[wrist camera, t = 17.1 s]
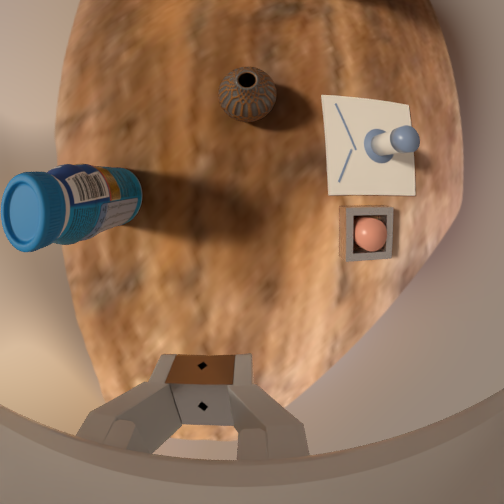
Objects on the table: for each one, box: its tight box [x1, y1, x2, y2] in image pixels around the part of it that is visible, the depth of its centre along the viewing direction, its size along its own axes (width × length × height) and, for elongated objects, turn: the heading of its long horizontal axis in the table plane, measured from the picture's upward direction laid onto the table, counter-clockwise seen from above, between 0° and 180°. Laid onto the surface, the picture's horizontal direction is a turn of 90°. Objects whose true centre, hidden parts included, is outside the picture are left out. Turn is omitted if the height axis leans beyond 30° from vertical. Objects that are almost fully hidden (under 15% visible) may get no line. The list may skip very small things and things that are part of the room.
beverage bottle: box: [1, 164, 142, 252], centre depth 26 cm, size 8×8×20 cm
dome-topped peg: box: [371, 125, 420, 156], centre depth 30 cm, size 3×3×8 cm
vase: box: [218, 67, 277, 122], centre depth 29 cm, size 7×7×9 cm
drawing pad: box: [321, 95, 415, 196], centre depth 34 cm, size 14×14×1 cm
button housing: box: [339, 205, 393, 262], centre depth 36 cm, size 7×7×3 cm
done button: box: [353, 216, 387, 251], centre depth 35 cm, size 4×4×3 cm
